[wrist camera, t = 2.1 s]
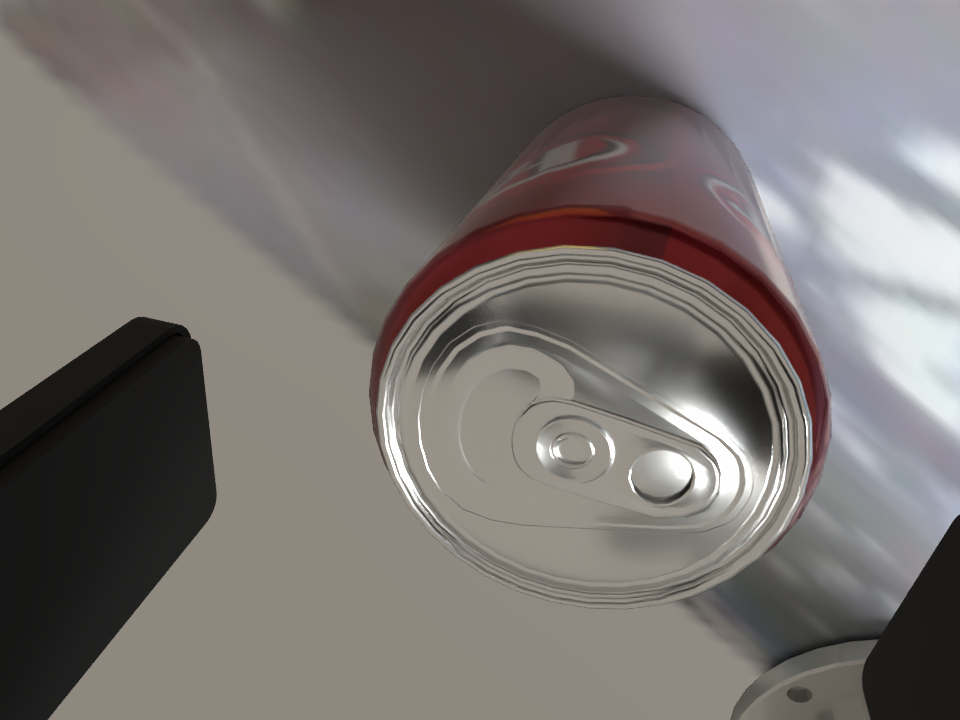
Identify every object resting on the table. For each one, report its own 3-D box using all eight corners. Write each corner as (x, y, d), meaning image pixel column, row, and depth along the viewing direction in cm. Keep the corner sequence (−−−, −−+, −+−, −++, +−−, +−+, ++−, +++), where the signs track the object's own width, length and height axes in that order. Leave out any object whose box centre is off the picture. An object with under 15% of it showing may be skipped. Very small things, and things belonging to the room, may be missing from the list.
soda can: (479, 286, 23) (324, 532, 13) (547, 56, 19) (405, 144, 9) (691, 362, 23) (706, 681, 12) (804, 140, 19) (958, 335, 9)
